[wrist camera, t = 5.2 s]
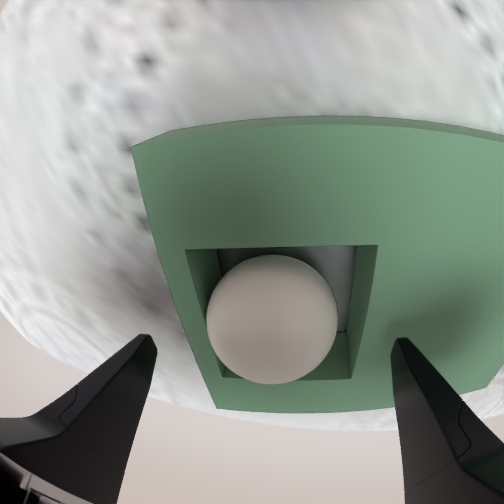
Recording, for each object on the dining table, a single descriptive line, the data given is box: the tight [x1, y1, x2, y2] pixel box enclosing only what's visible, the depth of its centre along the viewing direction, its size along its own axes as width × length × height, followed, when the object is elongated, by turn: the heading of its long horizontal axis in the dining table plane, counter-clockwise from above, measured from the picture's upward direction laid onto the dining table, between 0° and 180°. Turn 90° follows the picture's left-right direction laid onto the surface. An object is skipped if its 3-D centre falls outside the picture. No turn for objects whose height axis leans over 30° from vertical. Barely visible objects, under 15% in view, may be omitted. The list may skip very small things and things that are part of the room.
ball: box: [206, 255, 338, 384], centre depth 11 cm, size 5×5×5 cm
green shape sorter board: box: [131, 116, 504, 413], centre depth 11 cm, size 17×14×3 cm
